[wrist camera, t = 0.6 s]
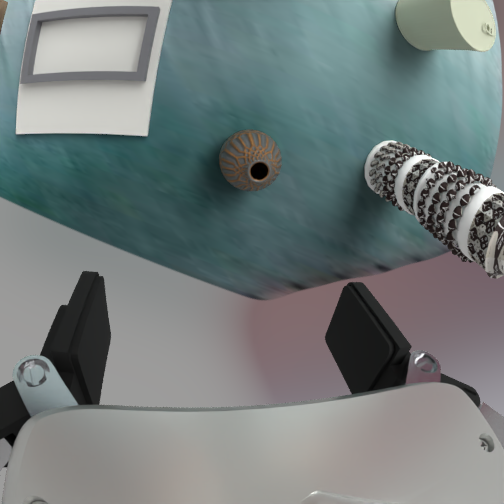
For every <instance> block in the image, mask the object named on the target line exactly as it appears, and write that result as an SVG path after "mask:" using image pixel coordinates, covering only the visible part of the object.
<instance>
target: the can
mask: <svg viewBox="0 0 504 504" xmlns="http://www.w3.org/2000/svg"><path fill="white" fill-rule="evenodd" d="M395 15H396V21H397V25H398V27H399V30H400V32H401V33H402V35H403V36H404V38H405V39H406V40H407V41H408V42H409V43H410V44H411V45H412V46H414V47H416V48H417V49H420V50H424V51H430V50H440V49H447V50H472V51H479V52H485V51H488V50H489V49H491V47H492V46H493V44H494V41H495V36H496V28H495V22H494V18H493V15H492V13H491V10H490V8H489V6H488V4H487V3H486V1H485V0H399V2H398V3H397V6H396V14H395Z"/></svg>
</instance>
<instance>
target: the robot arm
mask: <svg viewBox="0 0 504 504" xmlns="http://www.w3.org/2000/svg"><path fill="white" fill-rule="evenodd" d="M110 339H111V332H110V325H109V318H108V311H107V303H106V295H105V285H104V278H103V276H99V274H98V272H89V271H83V272H82V274H81V276H80V279H79V281H78V283H77V285H76V287H75V290H74V292H73V294H72V296H71V299H70V301H69V304H68V305H61V306H60V308H59V310H58V312H57V315H56V317H55V319H54V321H53V324H52V326H51V329H50V331H49V333H48V336H47V338H46V341H45V343H44V346H43V349H42V351H41V354H40V355H30V356H27V357H25V358H23V359H21V360H20V361H19V362H18V363H17V364H16V365H15V367H14V370H13V379H14V381H12V382H10V383H8V384H6V385H4V386H2V387H1V388H0V471H1V469H2V468H3V467H7V471H6V477H5V483H4V490H3V497H2V504H47V503H48V504H504V417H503V416H501V415H500V414H499V413H498V412H496V411H495V410H493V409H492V408H491V407H489V406H488V405H487V404H485V403H484V402H483V403H482V404H480V398H479V395H478V393H477V392H476V390H475V389H474V388H472V387H470V386H468V385H466V384H464V383H462V382H459V381H457V380H455V379H453V378H450V377H448V376H446V375H444V374H441V366H440V363H439V361H438V360H437V359H436V358H435V357H434V356H433V355H431V354H430V353H428V352H425V351H415V352H413V353H412V354H410V352H409V350H410V348H411V345H410V344H409V342H408V341H407V340H406V338H405V337H404V336H403V334H402V333H401V331H400V330H399V329H398V327H397V326H396V325H395V323H394V322H393V321H392V319H391V318H390V317H389V316H388V314H387V313H386V312H385V310H384V309H383V308H382V306H381V305H380V304H379V303H378V301H377V300H376V299H375V297H374V296H373V295H372V294H371V292H370V291H369V290H368V289H367V287H366V286H365V285H364V284H363V283H361V282H350V283H348V284H347V286H345V287H344V288H343V290H342V293H341V296H340V298H339V301H338V304H337V307H336V309H335V312H334V314H333V317H332V320H331V322H330V325H329V328H328V330H327V333H326V336H325V340H326V343H327V345H328V347H329V349H330V351H331V353H332V355H333V357H334V359H335V361H336V363H337V365H338V367H339V369H340V371H341V373H342V375H343V377H344V379H345V381H346V383H347V385H348V387H349V389H350V391H351V393H352V395H345V396H339V397H332V398H325V399H318V400H310V401H301V402H292V403H282V404H271V405H257V406H239V407H218V408H217V407H212V408H172V407H171V408H170V407H169V408H168V407H138V406H137V407H136V406H119V405H99V401H100V396H101V389H102V383H103V377H104V371H105V366H106V360H107V355H108V350H109V345H110Z"/></svg>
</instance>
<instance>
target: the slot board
mask: <svg viewBox="0 0 504 504" xmlns="http://www.w3.org/2000/svg"><path fill="white" fill-rule="evenodd" d="M172 1H173V0H35V4H34V7H33V11H32V15H31V19H30V24H29V28H28V33H27V38H26V43H25V48H24V54H23V60H22V67H21V74H20V83H19V92H18V103H17V119H16V134H38V133H90V134H118V135H136V136H148V131H149V123H150V116H151V108H152V101H153V95H154V88H155V82H156V76H157V71H158V65H159V60H160V55H161V49H162V45H163V40H164V35H165V30H166V26H167V22H168V17H169V13H170V9H171V5H172Z"/></svg>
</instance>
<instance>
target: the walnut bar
mask: <svg viewBox="0 0 504 504" xmlns="http://www.w3.org/2000/svg"><path fill="white" fill-rule="evenodd" d="M7 4H8V2H6V1H3V0H0V33H1V28H2V24H3V19H4V15H5V11H6V8H7Z"/></svg>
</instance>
